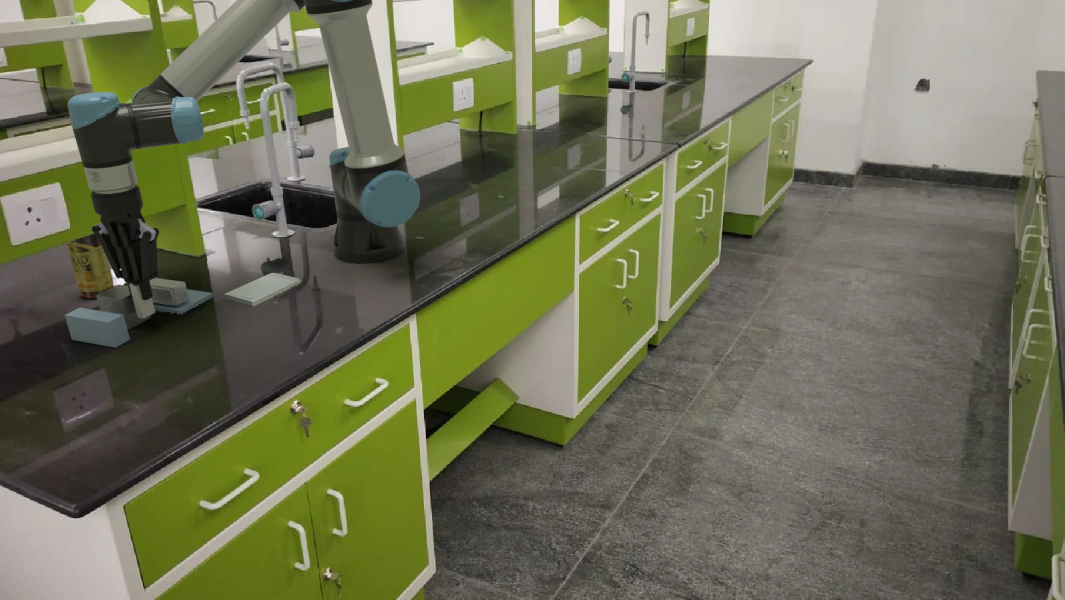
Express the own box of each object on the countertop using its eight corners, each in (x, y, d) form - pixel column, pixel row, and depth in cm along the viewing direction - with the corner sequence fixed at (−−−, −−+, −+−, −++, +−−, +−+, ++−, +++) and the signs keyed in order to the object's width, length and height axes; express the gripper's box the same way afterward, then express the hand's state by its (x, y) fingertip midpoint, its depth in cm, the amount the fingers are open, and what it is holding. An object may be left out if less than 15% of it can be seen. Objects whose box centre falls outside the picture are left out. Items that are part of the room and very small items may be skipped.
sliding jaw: (189, 299, 153) (185, 282, 152) (176, 306, 150) (171, 289, 149) (133, 291, 158) (129, 274, 156) (120, 298, 155) (115, 280, 153)
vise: (213, 296, 157) (208, 273, 155) (122, 348, 138) (115, 323, 136) (161, 289, 161) (155, 266, 160) (65, 338, 142) (58, 314, 140)
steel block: (150, 318, 149) (143, 288, 147) (129, 329, 145) (121, 299, 142) (126, 314, 151) (118, 284, 149) (104, 325, 147) (95, 295, 144)
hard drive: (252, 301, 152) (300, 278, 162) (222, 293, 156) (271, 271, 165) (253, 309, 153) (301, 285, 162) (223, 301, 156) (272, 278, 166)
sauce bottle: (73, 297, 159) (45, 200, 151) (100, 285, 164) (74, 191, 156) (97, 302, 157) (69, 203, 148) (123, 290, 162) (98, 194, 153)
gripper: (67, 191, 135) (102, 319, 145) (126, 196, 131) (159, 328, 140) (103, 179, 141) (134, 302, 151) (161, 184, 137) (189, 310, 147)
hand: (146, 314), depth 146 cm, fingers closed
